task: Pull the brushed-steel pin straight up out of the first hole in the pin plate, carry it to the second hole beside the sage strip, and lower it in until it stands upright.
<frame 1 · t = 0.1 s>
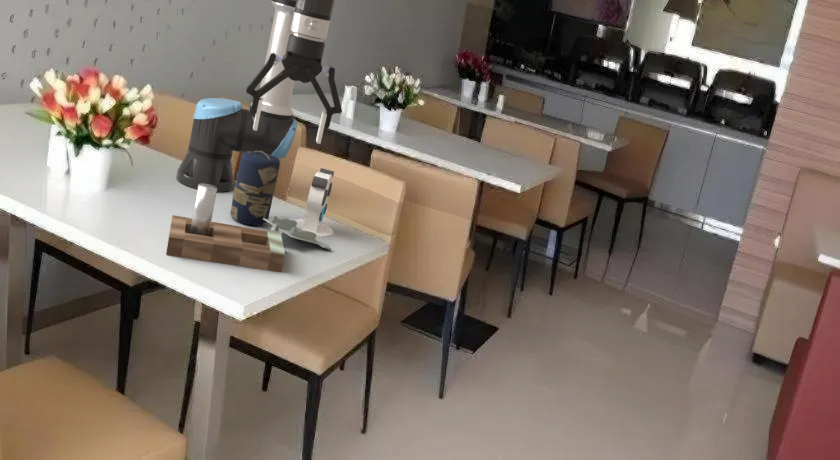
hand: (286, 135, 176), 28 cm above the table, fingers open, 13 cm apart
pin plate: (224, 251, 181), on the table
white upright piece: (310, 229, 211), on the table, touching metal bracket
steel pin: (196, 247, 179), resting in pin plate
metal bracket: (291, 241, 198), on the table, touching white upright piece
canister: (248, 221, 204), on the table
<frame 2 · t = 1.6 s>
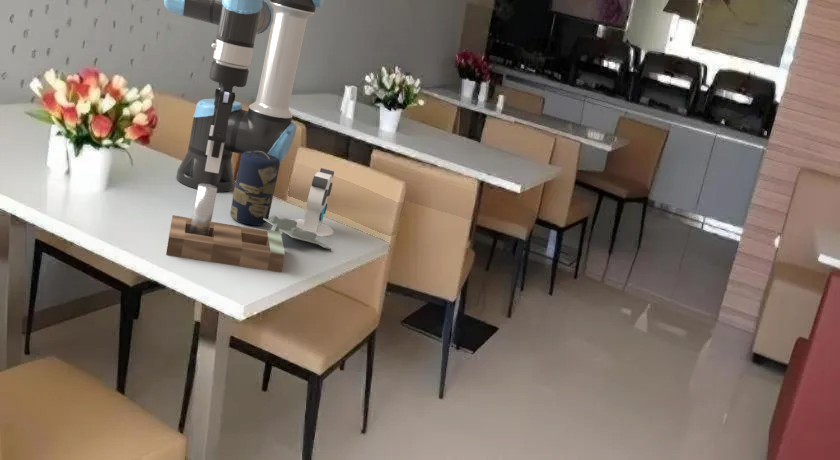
hand: (211, 163, 173), 19 cm above the table, fingers open, 13 cm apart
nothing on the table moved.
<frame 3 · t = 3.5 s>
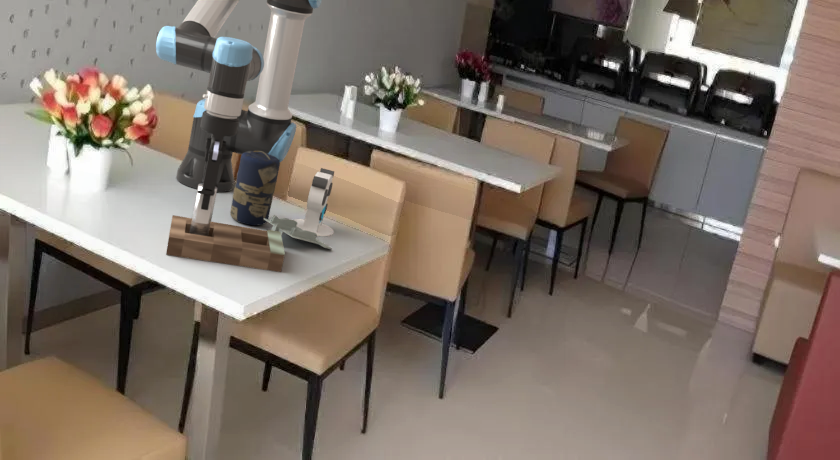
hand: (201, 218, 177), 7 cm above the table, fingers closed on steel pin, 4 cm apart
steel pin: (196, 247, 179), resting in pin plate, touching gripper
everything else where it was.
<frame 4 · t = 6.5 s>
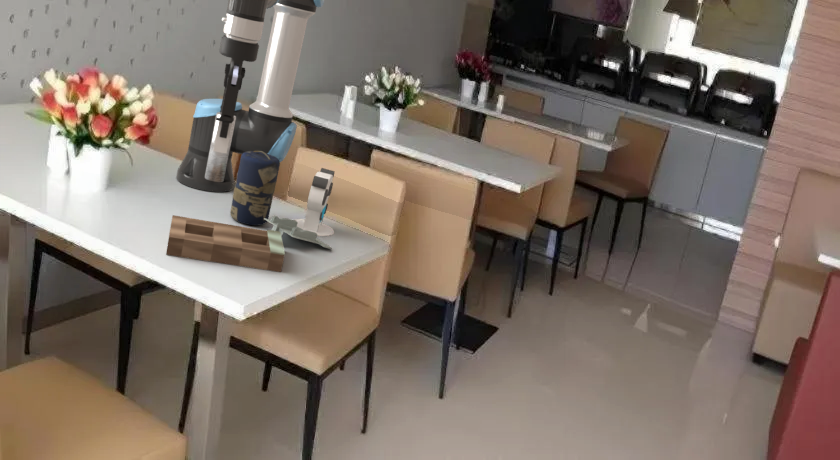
hand: (220, 148, 173), 23 cm above the table, fingers closed on steel pin, 4 cm apart
steel pin: (214, 178, 175), point 16 cm above the table, touching gripper
everything else where it was.
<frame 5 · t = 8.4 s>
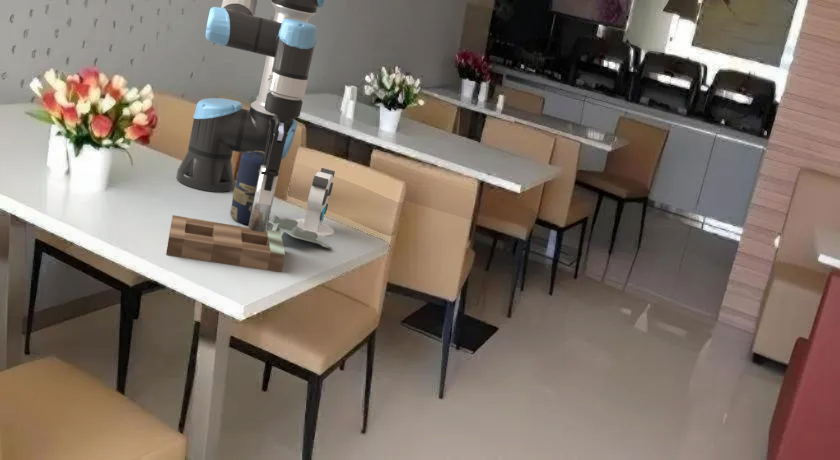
hand: (263, 200, 179), 13 cm above the table, fingers closed on steel pin, 4 cm apart
steel pin: (257, 228, 180), point 7 cm above the table, touching gripper
everything else where it was.
when the fingers open (8 cm above the table, at t = 9.7 s): steel pin drops 2 cm, resting in pin plate.
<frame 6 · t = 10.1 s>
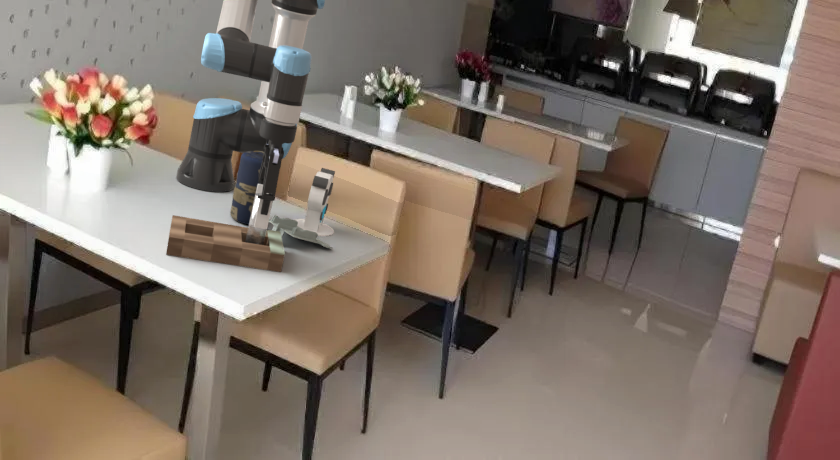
hand: (259, 219, 180), 9 cm above the table, fingers open, 9 cm apart
steel pin: (251, 255, 182), resting in pin plate
everything else where it was.
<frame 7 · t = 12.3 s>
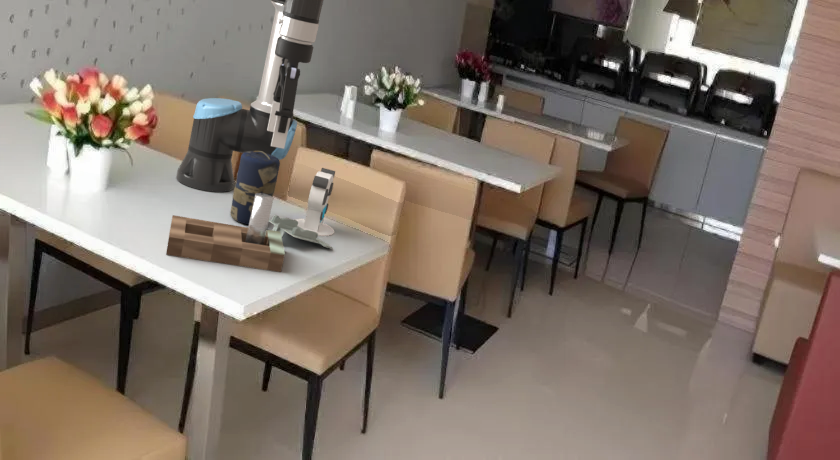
hand: (275, 139, 175), 27 cm above the table, fingers open, 13 cm apart
nothing on the table moved.
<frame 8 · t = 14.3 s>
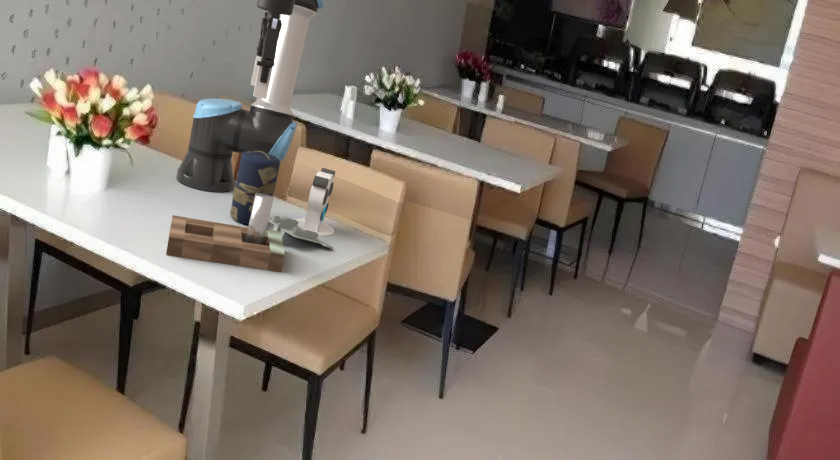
hand: (258, 91, 179), 35 cm above the table, fingers open, 13 cm apart
nothing on the table moved.
at the end: steel pin 0.1 cm from the target spot on the pin plate, point 0.0 cm above the pin plate's base; steel pin tilted 1°; the gripper is holding nothing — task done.
